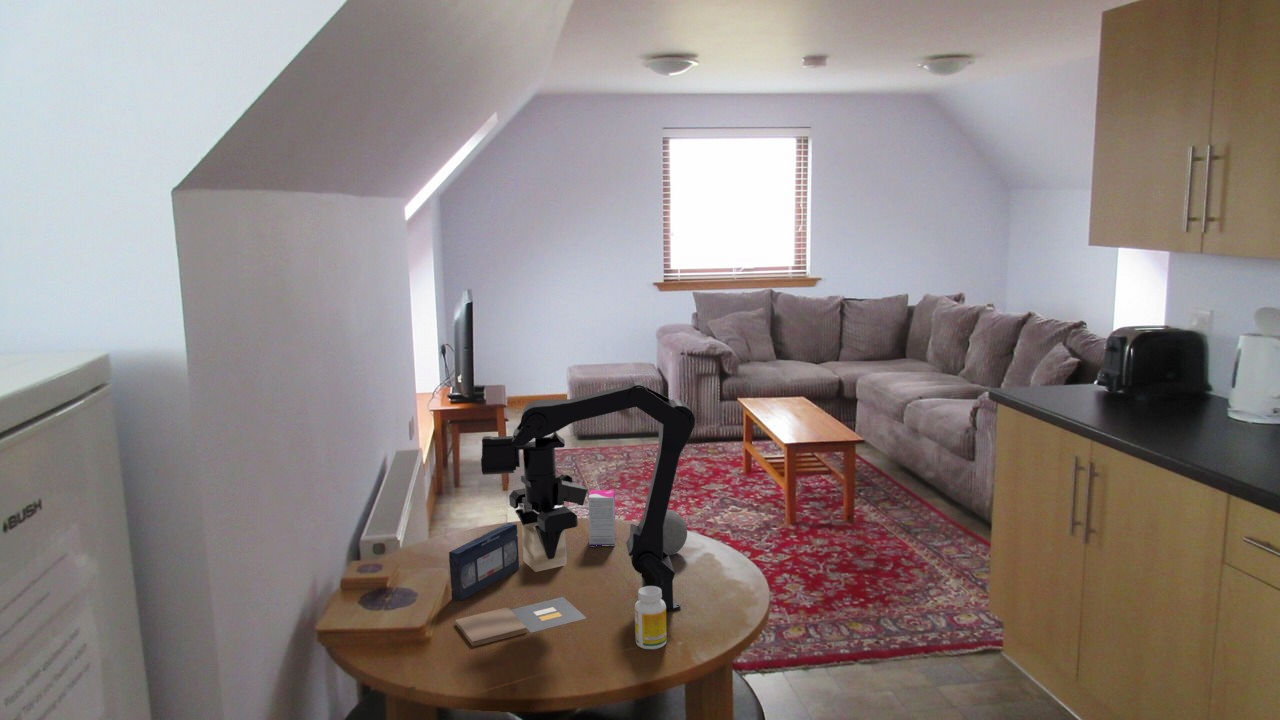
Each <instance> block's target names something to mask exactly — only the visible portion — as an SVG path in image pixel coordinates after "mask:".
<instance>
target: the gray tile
mask: <svg viewBox="0 0 1280 720" xmlns="http://www.w3.org/2000/svg"><path fill="white" fill-rule="evenodd" d="M510 610H511V611H512V612H513V613H514V615H515V616H516V617H517V618H518V619H519V620H520V621H521V622H522V623H523V624H524V625H525V626H526V627H527V631H529V632H530V634H532V633H536V632H539V631H543V630H547V629H552V628H556V627H560V626H563V625H567V624H570V623H574V622H578V621H583V620H585V619H587V617H586V616H585V615H584V614H583V613H582V612H581V611H580V610H579V609H577V608H576V607H575V606H574V605H573V604H572V603H570V602H569V601H568V600H567V599H566V598H565V597H564V596H561V597H557V598H553V599H550V600H548V599H547V600H545V601H541V602H536V603H532V604H527V605H524V606H521V607H515V608H512V609H510Z"/></svg>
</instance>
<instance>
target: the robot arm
mask: <svg viewBox="0 0 1280 720" xmlns="http://www.w3.org/2000/svg"><path fill="white" fill-rule="evenodd" d="M632 408H638V409H639V410H641V411H642V412H644V413H645V414H646V415H648V416H649V417H652V419H654V420H655V421H657V422H658V449H657V452H656V457H655V462H654V466H653V470H652V475H651V480H650V484H649V488H648V493H647V497H646V502H645V505H644V510H643V514H642V518H641V520H640V521H639V523H637V524H634V523H630V531H629V536H628V539H627V540H626V542H625V543H626V549H627V554H628V556H629V557H630V561H631V565H632V567H633V570H635V571H636V572H637V573H638V574H641V588H642V587H645V586H656V587H659V588H660V589H661V590H662V598H661V599H662V600H663V601H664V602H665V604H666V613H668V612H669V613H670V612H672V611H676V610H680V609H681V605H680V604H679V603H678V602H677V601H676V600H674V585H673V583H674V582H673V581H674V578H675V574H676V572H675V569H674V566H673V564H672V560H671V558H670V556H669V555H668V554H666V553H665V552H664V551H663V525H664V521H665V517H666V512H667V509H668V507H669V502H670V499H671V495H672V490H673V487H674V482H675V478H676V474H677V469H678V464H679V460H680V457H681V455H682V452H683V451H684V449H685V447H686V445H687V444H688V442H689V440H690V438H691V435H692V432H693V431H694V429H695V424H696V416H695V415H694V413H693V411H692V410H691V408H690V407H689V405H688V404H687V403H686V402H685V401H683V400H681V399H677V398H676V399H675V398H674V399H673V398H672V399H671V398H668V397H666V396H665V395H664V394H661V393H659V392H657V391H655V390H653V389H651V388H649V387H648V386H647V385H645V383H643V382H641V381H633V382H631V383H629V384H627V385H621V386H618V387H614V388H610V389H606V390H602V391H598V392H594V393H589V394H585V395H581V396H577V397H573V398H569V399H568V398H567V399H561V398H560V399H554V398H549V399H537V400H532V401H529V402H528V403H527V404H526V405H525V406H524V408H523V409H522V412H521V413H522V414H521V419H520V423H519V424H518V426H517V427H516V428H515V429H513V430H514V431H513V432H512V433H513V434H512V435H510V436H490V435H489V436H486V435H485V436H483V437H482V438H481V458H480V466H481V472H482V475H483V476H486V475H489V476H490V475H503V474H515V471H517V468H521V454H520V453H521V452H520V451H522V452H523V453H522V454H523V457H522V458H523V473H524V474H523V475H520V482H521V483H523V484H524V488H520V489H515V490H514V489H513V490H512V491H511V493H510V494H509V495H508V497H509V498H508V499H509V500H508V501H509V506H510V507H511V508H513V509H514V510H515V511H514V512H515V514H516V515H517V517H518V518H519V520H520V523H521V524H522V525H525V524H530V523H535V522H538V525H537V526H535V528H536V531H537V533H538V536H539V538H540V541H541V543H542V546H543V548H544V551H545V553H546V555H547V558H548V559H553V558H554V557H555V553H556V549H557V546H558V542H559V538H560V535H561V533H562V531H563V530H564V529H565V530H568V529H573V528H577V527H578V526H579V524H578V515H577V514H576V513H574V511H572V510H571V509H569V508H568V507H566V506H564V505H565V502H567V503H572V504H577V505H578V506H584V503H585V501H586V497H587V493H588V488H587V487H585V486H583V485H582V484H580V483H577V482H576V481H574V480H573V477H572V476H571V475H569V474H566V473H561V474H560V475H557V466H556V449H558V448H559V449H560V448H564V447H565V446H566V445H565V439H564V438H562V437H561V436H560V435H559V434H558V433H557V432H559V431H560V430H562V429H564V428H565V427H567V426H569V425H571V424H573V423H576V422H578V421H579V422H580V421H584V420H587V419H591V418H596V417H600V416H604V415H607V414H612V413H616V412H619V411H624V410H628V409H632ZM533 439H534V441H532V440H533ZM555 505H558V506H560V505H563V507H559V508H554V507H555ZM637 601H638V600H636V601H634V602H635V604H636V602H637ZM635 604H634V605H635Z"/></svg>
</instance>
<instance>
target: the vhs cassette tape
mask: <svg viewBox="0 0 1280 720" xmlns="http://www.w3.org/2000/svg"><path fill="white" fill-rule="evenodd" d="M448 557H449V558H448V559H449V560H448V561H449V573H450V587H451V590H450V591H451V599H452V600H455V601H458V602H462V601H463V600H466V599H467V598H469V597H471V596H473V595H474V594H476V593H479V592H481V591H482V590H484V589H485V588H488V587H490V586H491V585H493V584H495V583H497V582H499V581H501V580H502V579H504V578H506V577H507V576H510V575H511V574H513V573H515V572H517V571H518V570H519V569H520V557H519V537H518V524H517V523H516V524H515V523H512V522H506V524H503V525H500V526H498V527H497V528H494V529H493V530H490V531H489V532H486V533H485V534H482V535H481V536H480V537H477V538H474V539H473V540H472V539H471V541H469V542H466V543H465V544H464V543H463V545H461V546H459V547H456V548H455V549H453V550H451V551H449V552H448Z"/></svg>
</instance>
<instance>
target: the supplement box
mask: <svg viewBox="0 0 1280 720" xmlns="http://www.w3.org/2000/svg"><path fill="white" fill-rule="evenodd" d="M615 493H616V490H612V489H611V490H610V489H609V490H608V489H607V490H605V489H603V490H600V489H599V490H598V489H597V490H594V489H593V490H590V491H589V493H588V532H589V533H588V536H589V537H588V538H589V539H588V540H589V545H588V546H596V545H597V546H602V545H614V546H615V540H616V503H615V502H616V498H615V497H616V496H615Z"/></svg>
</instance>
